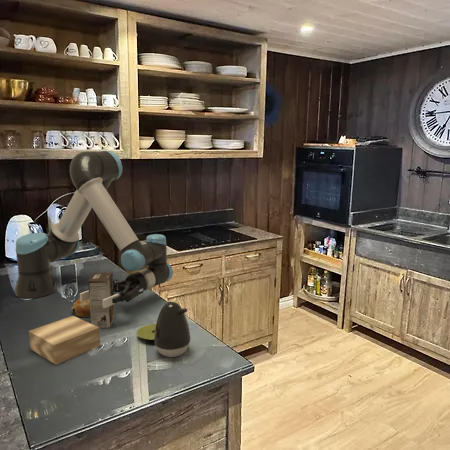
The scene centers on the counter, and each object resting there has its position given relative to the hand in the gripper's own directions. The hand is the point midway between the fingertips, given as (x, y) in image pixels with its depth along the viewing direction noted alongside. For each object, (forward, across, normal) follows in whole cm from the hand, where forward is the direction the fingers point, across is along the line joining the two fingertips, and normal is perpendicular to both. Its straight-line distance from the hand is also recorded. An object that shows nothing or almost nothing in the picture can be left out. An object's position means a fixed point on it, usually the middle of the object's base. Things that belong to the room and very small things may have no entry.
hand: (91, 300), depth 132 cm
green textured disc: (-5, -22, -9) cm, 24 cm away
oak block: (+14, -4, -9) cm, 17 cm away
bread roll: (-7, +11, -9) cm, 16 cm away
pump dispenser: (0, -33, -9) cm, 34 cm away
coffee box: (-4, 0, -9) cm, 10 cm away
